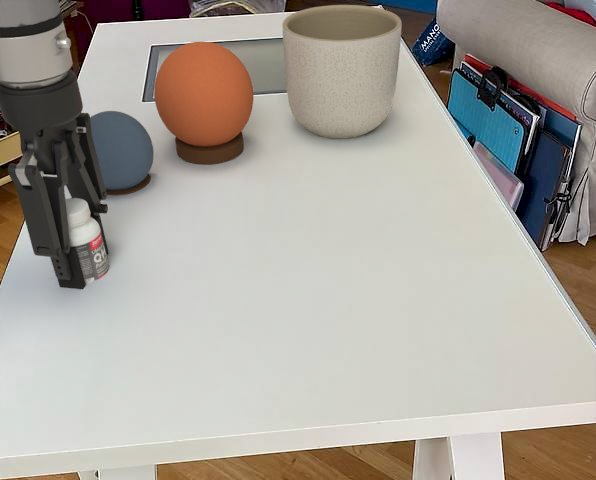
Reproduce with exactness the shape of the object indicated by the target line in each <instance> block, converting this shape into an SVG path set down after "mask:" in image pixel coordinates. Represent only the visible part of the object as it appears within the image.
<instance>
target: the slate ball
mask: <svg viewBox="0 0 596 480" xmlns="http://www.w3.org/2000/svg"><path fill="white" fill-rule="evenodd" d="M90 121H91V132H92V138H93V142H94V146H95V150H96V154H97V158H98V161H99V165H100V169H101V173H102V177H103V181H104V185H105V189H106V195H107V196H111V197H112V196H113V197H115V196H125V195H130V194H133V193H137V192H139V191H142V190H143V189H144V188H146V187H147V186H148V185H149V184H150V182H151V177H152V176H151V175H150V171H151V169H152V166H153V163H154V147H153V146H154V145H153V142H152V139H151V136H150V134H149V132H148V131H147V129H146V127H144V125H143V124H142V123H141V122H140V121H139V120H138V119H136V118H135V117H133V116H131V115H130V114H128V113H125V112H122V111H117V110H106V111H105V110H104V111H101V112H98V113H95V114H93V115H92V116H90ZM94 188H96V186H94Z"/></svg>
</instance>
